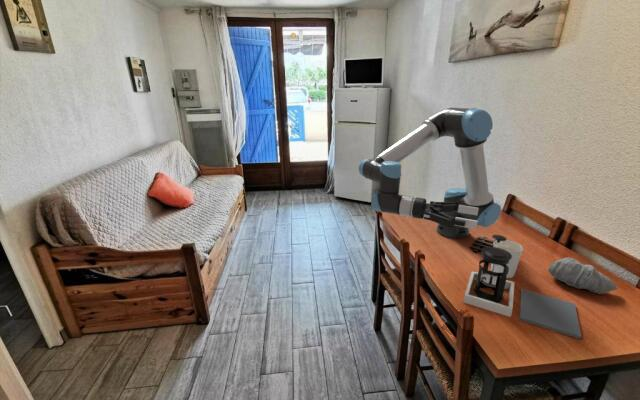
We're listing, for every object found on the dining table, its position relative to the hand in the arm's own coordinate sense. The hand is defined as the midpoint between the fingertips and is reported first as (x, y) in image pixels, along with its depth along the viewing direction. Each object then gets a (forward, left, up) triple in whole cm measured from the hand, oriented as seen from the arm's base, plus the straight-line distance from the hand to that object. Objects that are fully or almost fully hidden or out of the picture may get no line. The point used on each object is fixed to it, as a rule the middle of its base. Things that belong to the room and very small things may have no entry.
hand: (477, 218), depth 102 cm
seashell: (+35, +22, -28) cm, 50 cm away
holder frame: (+8, -1, -28) cm, 29 cm away
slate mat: (+25, -1, -28) cm, 37 cm away
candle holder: (+11, +18, -28) cm, 35 cm away
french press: (+8, -1, -28) cm, 29 cm away
